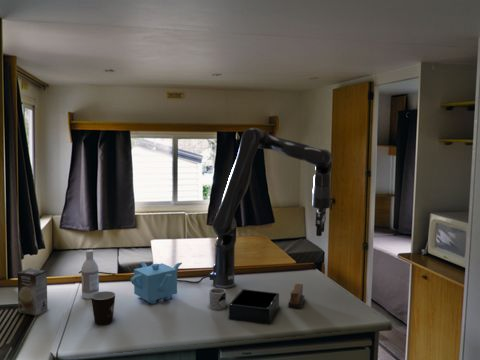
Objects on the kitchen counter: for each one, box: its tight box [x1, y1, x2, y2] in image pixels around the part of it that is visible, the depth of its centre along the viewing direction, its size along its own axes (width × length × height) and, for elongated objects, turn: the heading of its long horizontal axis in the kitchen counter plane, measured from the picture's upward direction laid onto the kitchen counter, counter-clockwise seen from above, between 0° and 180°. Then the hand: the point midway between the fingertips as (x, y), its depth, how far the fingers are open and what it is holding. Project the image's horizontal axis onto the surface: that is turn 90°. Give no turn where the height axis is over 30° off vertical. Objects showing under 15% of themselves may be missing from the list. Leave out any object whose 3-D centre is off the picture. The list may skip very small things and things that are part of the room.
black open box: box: [228, 288, 280, 325], centre depth 169 cm, size 16×18×6 cm
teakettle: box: [130, 261, 183, 305], centre depth 184 cm, size 19×19×15 cm
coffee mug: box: [90, 290, 116, 326], centre depth 161 cm, size 12×9×10 cm
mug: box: [208, 287, 227, 311], centre depth 177 cm, size 10×7×7 cm
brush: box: [288, 283, 305, 309], centre depth 180 cm, size 5×12×6 cm, turn 163°
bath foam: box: [80, 249, 100, 300], centre depth 185 cm, size 7×7×20 cm
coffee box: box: [16, 267, 49, 316], centre depth 168 cm, size 9×6×16 cm
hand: (320, 233), depth 185 cm, fingers open, 8 cm apart
